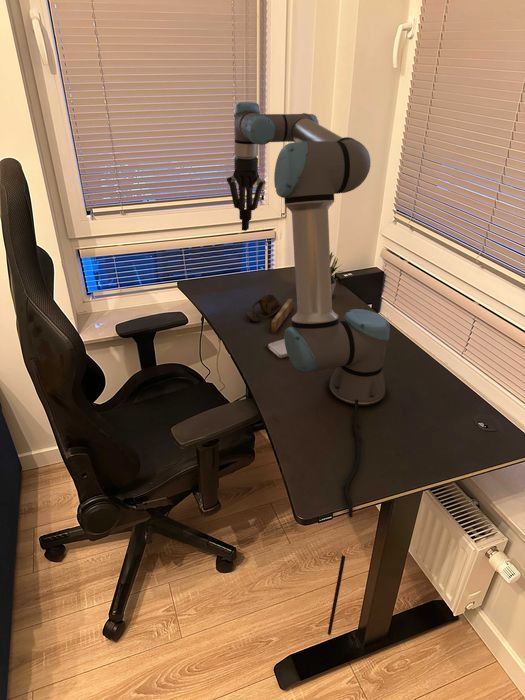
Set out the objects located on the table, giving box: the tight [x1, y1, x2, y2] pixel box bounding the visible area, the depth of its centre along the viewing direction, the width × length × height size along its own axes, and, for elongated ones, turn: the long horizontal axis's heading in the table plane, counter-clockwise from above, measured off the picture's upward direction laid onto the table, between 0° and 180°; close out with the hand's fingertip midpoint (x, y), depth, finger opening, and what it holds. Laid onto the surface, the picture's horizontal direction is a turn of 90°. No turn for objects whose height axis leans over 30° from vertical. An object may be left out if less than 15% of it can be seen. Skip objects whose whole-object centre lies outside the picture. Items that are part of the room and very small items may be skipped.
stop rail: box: [270, 298, 293, 334], centre depth 171 cm, size 18×1×4 cm, turn 159°
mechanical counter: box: [246, 293, 283, 323], centre depth 173 cm, size 7×13×10 cm
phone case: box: [267, 338, 289, 359], centre depth 157 cm, size 7×1×15 cm
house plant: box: [330, 251, 344, 297], centre depth 186 cm, size 14×14×16 cm
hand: (245, 229), depth 171 cm, fingers closed
